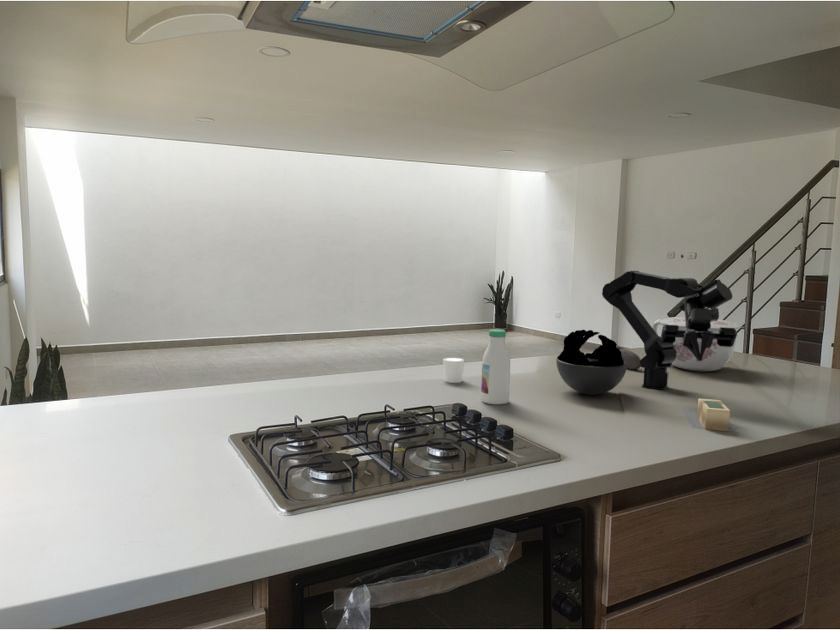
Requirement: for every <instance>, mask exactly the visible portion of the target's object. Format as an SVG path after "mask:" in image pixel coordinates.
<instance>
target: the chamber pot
mask: <svg viewBox="0 0 840 630" xmlns="http://www.w3.org/2000/svg"><path fill="white" fill-rule="evenodd" d="M710 323H711V327H710V329H708V330H709V331H715V332H719V329H720V327H727V328H735V330H739V329H741V328H742V326H741V325H740V324H738V323H735V322H733V321H729V320H725V319H720V318H719V319H718V320H717V321H711V322H710ZM665 324H666V325H678V327H679V329H678V330H681V331H685V329H686V321H685V316H673V317H672V316H671V317H665V318H659V319H657V320H655V321H654V322H653V324H652V325H651V327H652V328H653V330H654V331H655V332H656V334H657V335H658V326H659V325H661V326H662V327H663V326H664V325H665ZM658 336H659V335H658ZM675 339H676V341H675V342H674V343H673V345H675V346H676V347H674V348H675V349H676V351H677V354H676V359H675V360H674V361H673V363H672V365H671V366H672V367H673V366H674V367H675V368H678V369H681V370H685V371H690V372H698V373H699V372H700V373H703V372H704V373H710V372H714V371H720V370H721V369H723V368H724V367H725V366H726V365H727V364H728V362H729V361H730V360H731V359H732V357H733V354H734V351H735V347H736V339H735V342H734V344H733V346H731V347H722V346H719V345H718V344H717V339H713V342H712V345H711V347H710V348H706V350H705V352H704V354H703V357H702V361H698V360H697V358H696V357H695V356H694V354H693V353H692V352H691V351H690V350H689V349H688V348H687V347H686V346H683V341H684V339H683V338H675ZM697 341H698V346H699V345H700V342H701V340H700V339H697Z"/></svg>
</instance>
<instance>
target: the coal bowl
mask: <svg viewBox="0 0 840 630" xmlns="http://www.w3.org/2000/svg"><path fill="white" fill-rule="evenodd" d="M594 336H597V337H598V339H599V340H600V341H601V342H600V343H601V344H600V345H599V346H598V347H597V348H595V349H594V350H593V351H592V353H590V352H586V353H584V352H582V351H581V348H582V347H583V345H584V344H585V343H587V342H588V340H589V339H590V338H593V337H594ZM617 347H618V344H617V342H616V341H614V340H613V339H610V338H609V337H607V336H606V335H603V334H600V332H598V331H594V330H592V329H589V330H586V329H580V330H578V329H577V330H575V331H571V332H570V333H568V335H567V336H565V337H564V339H563V349H562V351H561V352H560V353H559V355H558V356H557V357H556V359H555V362H556V368H557V371H558V374H559V376H560V378H561V379H562V381H563V382H564V383H565V384H566V385H567V386H568V387H569V388H571V389H572V390H573V391H574V392H578V393H580V394H583V395H587V396H589V395H591V396H596V395H601V394H605V393H608V392H609V391H611V390H614V389H615V387H617V386H619V384H620V383H621V382H622V380H623V379H624V377H625V374H626V371H627V370H628V369H627V362H625V361H623V358H622V355H621V351H620V350H619V348H617Z"/></svg>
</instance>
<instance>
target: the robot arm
mask: <svg viewBox="0 0 840 630" xmlns="http://www.w3.org/2000/svg"><path fill="white" fill-rule="evenodd" d="M637 285H640V286H643V287H648V288H653V289H656V290H662V291H664V292H665V293H667V294H668V295H670V296H673V297H675V298H679V299H680V298H681V299H684V298H687V299H685V300H683V301H682V302H681V303H680V304H679V305H678V306H677V309H679V310H680V311H682V312H684V317H685V321H686V329H685V331H681V330H678V329H679V327H678V325H666V324H665V325H664V326H663V325H662V330H661V333H660V335H657V334H658V333H657V334H656V332H655V331H654V330H653V328H652V325H651V324H650V323H649V321H647V319H646V318H645V316H644V315H643V314H642V312H641V311H640V310H639V309H638V307H637V306H636V304H635V303H634V302H633V297H632V295H633V294H632V293H631V292H632V291H634V289H636V288H635V287H637ZM601 296H602V298H603V299H604V300H606V302H608V303H609V304H610V305H611V306H613V307H615V308H616V309H617V310H618V311H619V312H620V313H621V314H622V316H623V317H624V318H625V319H626V321H627V322H628V323H629V325H630V326H631V328H632V329H633V331H634V332H635V334H636V335H637V336H638V338H639V339H640V340H641V341H642V343H643V347H644V353H645V355H644V356H643V357H642V358H640V365H641V367H640V368H643V383H642V385H641V387H642V388H649V389H655V390H666V388H667V387H668V385H669V377H670V375H669V372H668V368H671V367H672V366H673V365H672V363H673V361H674V360H675V359H676V354H677V351H676V349H675V348H674V347H676V346H675V345H673V343H674V342H675V341H676V339H675V338H683V339H684V341H683V346H686V347H687V348H688V349H689V350H690V351H691V352H692V353H693V354H694V356H695V357H696V358H697V360H698V361H702V357H703V354H704V352H705V350H706V348H710V347H711V345H712V342H713V339H717V344H718V345H719V346H722V347H731V346H733V344H734V342H735V343H736V341H735V340H736V339H737V337H738V333H737V332H738V331H737V329H735V328H727V327H720V329H719V332H715V331H709V330H708V329H710V327H711V323H710V322H711V321H717V320H718V319H720V312H719V307H720V306H721V305H723V304H726V303H727V302H729V301H731V300H732V299H733V293H732V290H731V289H730V288H728V287H727V285H725V283H722V281H721V280H720V279H714V280H712V281H711V282H709V284H706V285H705V286H703V285H702V284H699V282H698V281H697V279H695V278H693V277H667V276H663V275H656V274H651V273H646V272H643V271H639V270H627V271H626V272H624V273H623V274H622V275H620V276H618V277H617V278H614V279H613V280H612V281H610V282H608V283H606V284H604V285H603V287H602V291H601ZM697 339H700V340H701V342H700V345H699V346H698V341H697Z"/></svg>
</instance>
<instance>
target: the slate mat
mask: <svg viewBox="0 0 840 630" xmlns="http://www.w3.org/2000/svg"><path fill="white" fill-rule="evenodd" d="M697 410H698V409H696V410H695V409H686V408H681V411H682V412H683V414H684V416H685V418H686V419H687V420H688V422H689V423H690V425H691V426H692V428H693V429H703V430H706V429H705V428H704V427H703V426H702V424H701V423H700V421H699V420H698V418H697ZM727 432H735V433H737V432H738V433H740V431H739V430H738V428H736V426H735V425H734V424H733V423H732V422H731V420H729V428H728V431H727Z"/></svg>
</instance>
